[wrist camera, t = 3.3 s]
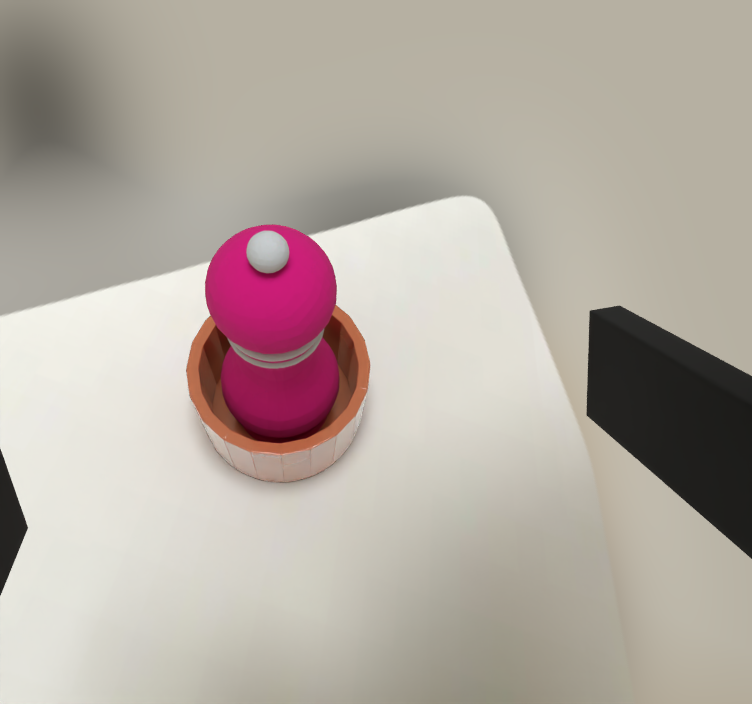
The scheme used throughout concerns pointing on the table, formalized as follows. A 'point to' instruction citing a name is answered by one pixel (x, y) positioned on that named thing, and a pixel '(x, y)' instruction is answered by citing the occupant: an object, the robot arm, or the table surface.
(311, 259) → the pepper mill
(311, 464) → the crock
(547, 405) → the table surface
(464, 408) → the table surface
